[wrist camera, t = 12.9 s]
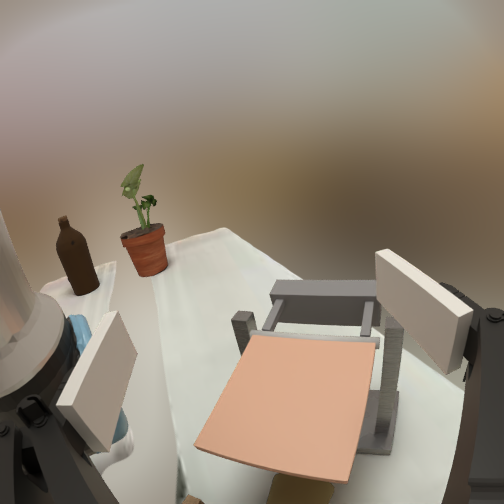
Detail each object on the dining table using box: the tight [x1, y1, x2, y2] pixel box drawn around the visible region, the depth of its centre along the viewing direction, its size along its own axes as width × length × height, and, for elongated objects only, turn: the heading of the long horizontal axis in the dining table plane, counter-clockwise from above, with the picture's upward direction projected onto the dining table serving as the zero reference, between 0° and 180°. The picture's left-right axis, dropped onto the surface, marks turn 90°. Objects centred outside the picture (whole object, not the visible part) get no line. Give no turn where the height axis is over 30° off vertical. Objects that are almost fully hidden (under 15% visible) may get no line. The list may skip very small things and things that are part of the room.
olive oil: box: [56, 216, 99, 295], centre depth 86 cm, size 11×11×25 cm
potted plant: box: [120, 164, 168, 277], centre depth 89 cm, size 16×15×35 cm
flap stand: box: [231, 311, 404, 455], centre depth 30 cm, size 9×17×16 cm, turn 66°
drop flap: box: [194, 280, 381, 484], centre depth 24 cm, size 19×12×4 cm, turn 156°
